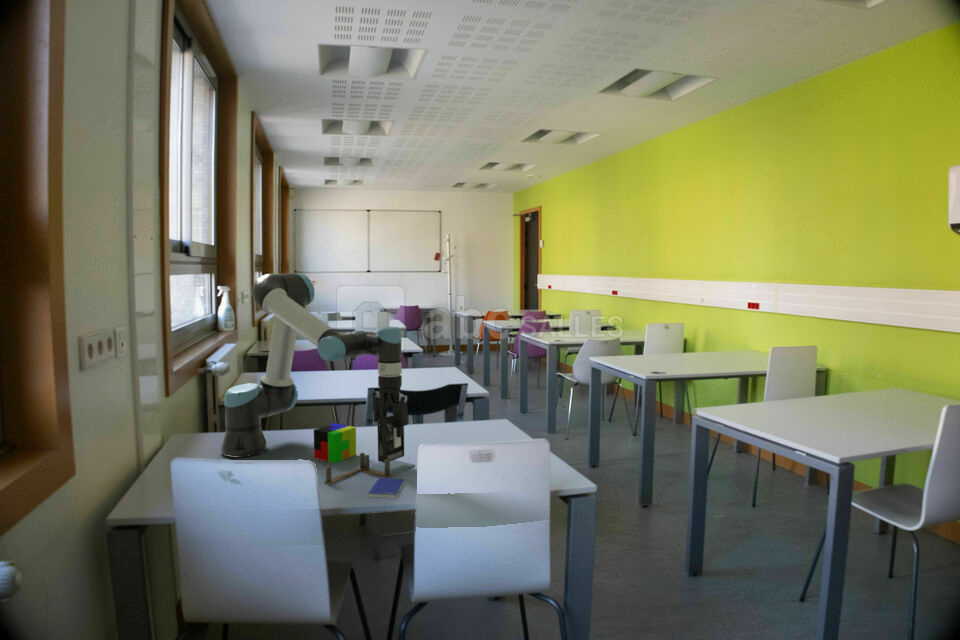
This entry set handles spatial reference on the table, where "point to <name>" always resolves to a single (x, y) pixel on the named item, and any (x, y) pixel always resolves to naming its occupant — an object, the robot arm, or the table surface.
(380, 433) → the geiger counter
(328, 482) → the wide gate
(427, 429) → the table surface
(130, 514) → the table surface
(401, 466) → the pad
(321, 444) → the puzzle toy
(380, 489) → the blue book
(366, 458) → the narrow gate
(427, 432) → the table surface
